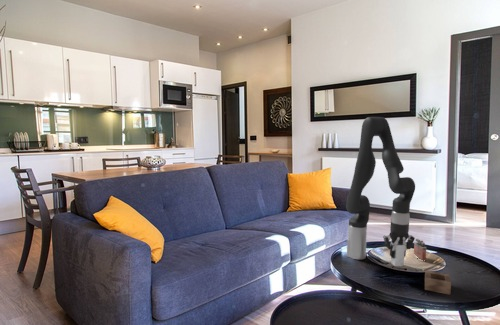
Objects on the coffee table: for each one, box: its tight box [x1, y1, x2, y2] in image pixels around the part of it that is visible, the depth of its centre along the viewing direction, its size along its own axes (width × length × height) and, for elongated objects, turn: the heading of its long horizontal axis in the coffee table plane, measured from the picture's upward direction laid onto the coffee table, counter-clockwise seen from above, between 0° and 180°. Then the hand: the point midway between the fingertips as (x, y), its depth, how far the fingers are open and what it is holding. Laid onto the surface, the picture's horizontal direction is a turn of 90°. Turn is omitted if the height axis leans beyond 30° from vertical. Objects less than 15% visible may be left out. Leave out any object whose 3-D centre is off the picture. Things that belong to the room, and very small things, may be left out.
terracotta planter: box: [413, 238, 428, 261], centre depth 171 cm, size 8×3×10 cm, turn 9°
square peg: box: [390, 243, 405, 267], centre depth 148 cm, size 4×4×10 cm
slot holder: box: [424, 269, 452, 296], centre depth 142 cm, size 9×9×5 cm
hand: (397, 257), depth 148 cm, fingers closed on square peg, 4 cm apart
